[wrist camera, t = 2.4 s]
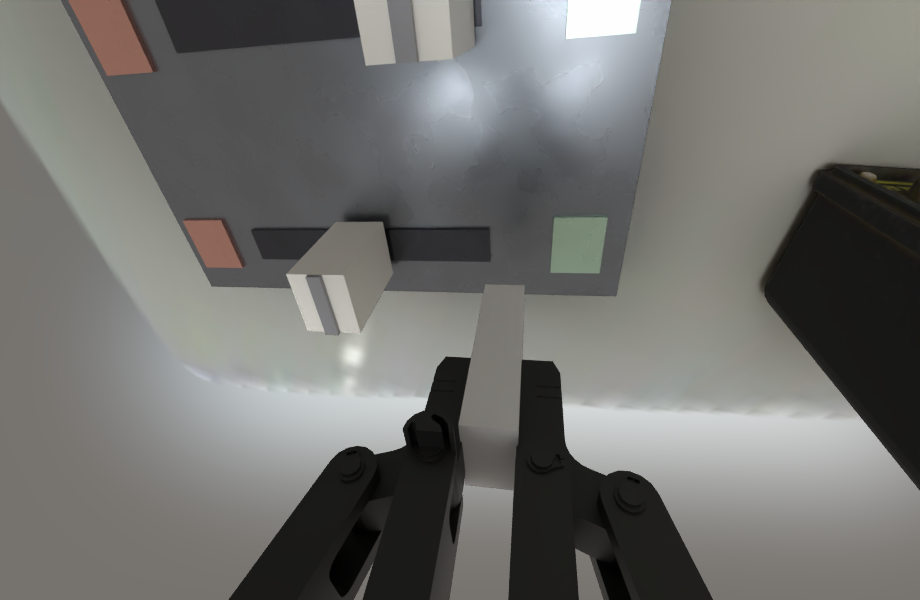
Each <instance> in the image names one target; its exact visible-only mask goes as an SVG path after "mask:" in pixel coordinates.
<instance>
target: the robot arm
mask: <svg viewBox="0 0 920 600" xmlns="http://www.w3.org/2000/svg"><path fill="white" fill-rule="evenodd" d="M524 287H525V285H495V284H485V288H484V293H483V299H482V304H481V309H480V314H479V320H478V325H477V330H476V335H475V340H474V346H473V351H472V356H471V358H462V357H445V359H444V360H443V361H442V362H441V363H440V364H439V366H438V367H437V369H436V373H435V376H434V382H433V383H432V387H431V392H430V394H429V398H428V401H427V405H426V408H425V411H422V412H419V413H417V414H415V415H414V416H412V417H411V418H410V419H409V420H407V422H406V424H405V425H404V427H403V432H404V436H405V441H406V446H404V447H402V448H400V449H397V450H394V451H390V452H385V453H380V454H376V455H374V453H373V452H372V451H371V450H369V449H368V448H366V447H361V446H355V447H350V448H347V449H345V450H343V451H341V452H339V453H338V454H337V455H336V456H335V457H334V458H333V459H332V460H331V461H330V462H329V464H328V465H327V466H326V468H325V469H324V470H323V472H322V473H321V475H320V476H319V477H318V479H317V480H316V482H315V483H314V484H313V485H312V487H311V488H310V490H309V491H308V492H307V494H306V495H305V496H304V498H303V499H302V501H301V502H300V503H299V505H298V506H297V507H296V509H295V510H294V511H293V513H292V514H291V515H290V517H289V518H288V519H287V521H286V522H285V524H284V525H283V526H282V528H281V529H280V531H279V532H278V533H277V535H276V536H275V537H274V539H273V540H272V541H271V543H270V544H269V545H268V547H267V548H266V550H265V551H264V552H263V554H262V555H261V556H260V558H259V559H258V561H257V562H256V563H255V564H254V566H253V567H252V569H251V570H250V571H249V573H248V574H247V576H246V577H245V578H244V579H243V581H242V582H241V584H240V585H239V586H238V588H237V589H236V590H235V592H234V593H233V594H232V596H231V597H230V598H229V600H354V598H355V596H356V594H357V592H358V590H359V588H360V586H361V584H362V582H363V581H364V579H365V577H366V575H367V573H368V571H369V569H370V567H371V565H372V564H373V566H372V570H371V573H370V576H369V580H368V583H367V586H366V590H365V593H364V597H363V600H449V598H450V591H451V585H452V578H453V571H454V564H455V557H456V551H457V544H458V537H459V530H460V523H461V516H462V510H463V497H462V491H463V485H464V479H465V485H470V486H479V487H489V488H497V489H506V490H514V498H513V518H512V538H511V558H510V579H509V598H508V599H509V600H579V597H578V582H577V569H576V555H575V548H576V549H578V550H580V551H582V552H584V553H586V554H588V555H590V558H591V562H592V565H593V567H594V571H595V574H596V577H597V580H598V583H599V587H600V589H601V593H602V596H603V599H604V600H713V599H712V597H711V595H710V593H709V591H708V589H707V587H706V585H705V583H704V581H703V579H702V577H701V575H700V573H699V571H698V570H697V568H696V566H695V564H694V562H693V560H692V558H691V556H690V554H689V552H688V550H687V548H686V546H685V544H684V542H683V541H682V538H681V536H680V534H679V533H678V530H677V529H676V527H675V525H674V523H673V521H672V519H671V517H670V515H669V513H668V511H667V509H666V507H665V505H664V503H663V501H662V499H661V497H660V495H659V494H658V492H657V491H656V490H655V488H654V487H653V485H652V484H651V483H650V482H648V481H647V480H646V479H645V478H643V477H642V476H640V475H638V474H635V473H633V472H630V471H616V472H613V473H610V474H608V475H607V476H606V475H603V474H601V473H598V472H596V471H593V470H591V469H589V468H587V467H585V466H583V465H581V464H580V463H579V462H577V461H576V460H575V459H574V458H573V457H572V455H571V454H570V453H569V451H568V449H567V447H566V443H565V437H564V422H563V407H562V393H561V378H560V372H559V371H558V369H557V368H556V366H555V364H554V363H553V361H534V360H523V330H524ZM373 562H374V563H373Z"/></svg>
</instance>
